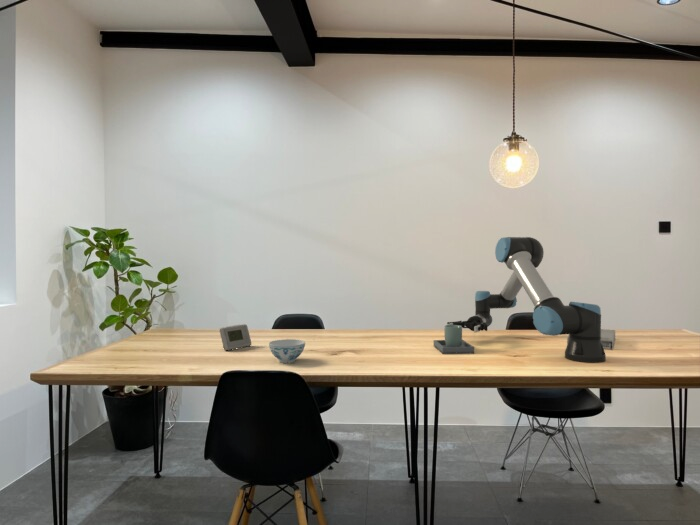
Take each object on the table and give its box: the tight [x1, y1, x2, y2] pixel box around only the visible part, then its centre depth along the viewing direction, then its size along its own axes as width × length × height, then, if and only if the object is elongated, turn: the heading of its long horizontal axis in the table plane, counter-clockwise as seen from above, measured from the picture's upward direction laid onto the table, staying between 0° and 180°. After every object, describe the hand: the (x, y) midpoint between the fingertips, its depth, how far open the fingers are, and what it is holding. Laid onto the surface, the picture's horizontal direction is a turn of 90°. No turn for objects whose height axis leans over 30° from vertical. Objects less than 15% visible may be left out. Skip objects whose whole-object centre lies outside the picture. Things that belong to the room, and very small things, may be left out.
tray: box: [433, 339, 475, 355], centre depth 216 cm, size 18×14×3 cm
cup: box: [444, 324, 463, 347], centre depth 216 cm, size 8×8×10 cm
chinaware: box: [268, 338, 306, 364], centre depth 196 cm, size 15×15×8 cm
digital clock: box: [219, 323, 252, 351], centre depth 224 cm, size 16×9×11 cm, turn 132°
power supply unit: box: [566, 328, 616, 351], centre depth 231 cm, size 19×33×5 cm, turn 149°
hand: (460, 328), depth 224 cm, fingers open, 13 cm apart
